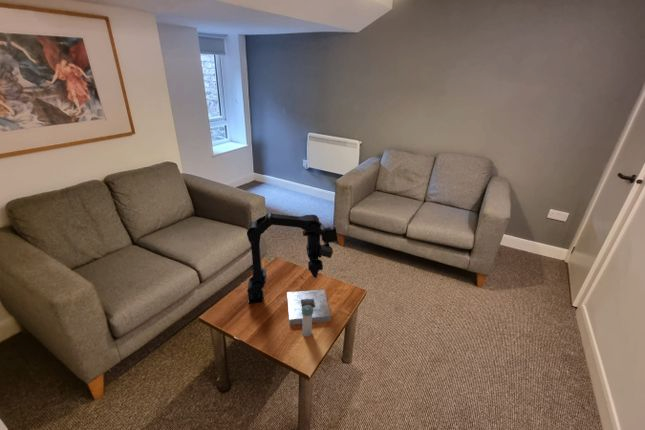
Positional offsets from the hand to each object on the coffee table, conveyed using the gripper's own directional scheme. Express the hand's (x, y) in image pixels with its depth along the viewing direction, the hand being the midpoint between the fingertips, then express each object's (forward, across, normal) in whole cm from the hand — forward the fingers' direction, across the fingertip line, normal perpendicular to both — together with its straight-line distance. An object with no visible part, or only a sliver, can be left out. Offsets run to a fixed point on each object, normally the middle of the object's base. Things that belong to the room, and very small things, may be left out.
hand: (314, 271), depth 146 cm
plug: (+14, -23, +5) cm, 28 cm away
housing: (+14, -9, +4) cm, 17 cm away
